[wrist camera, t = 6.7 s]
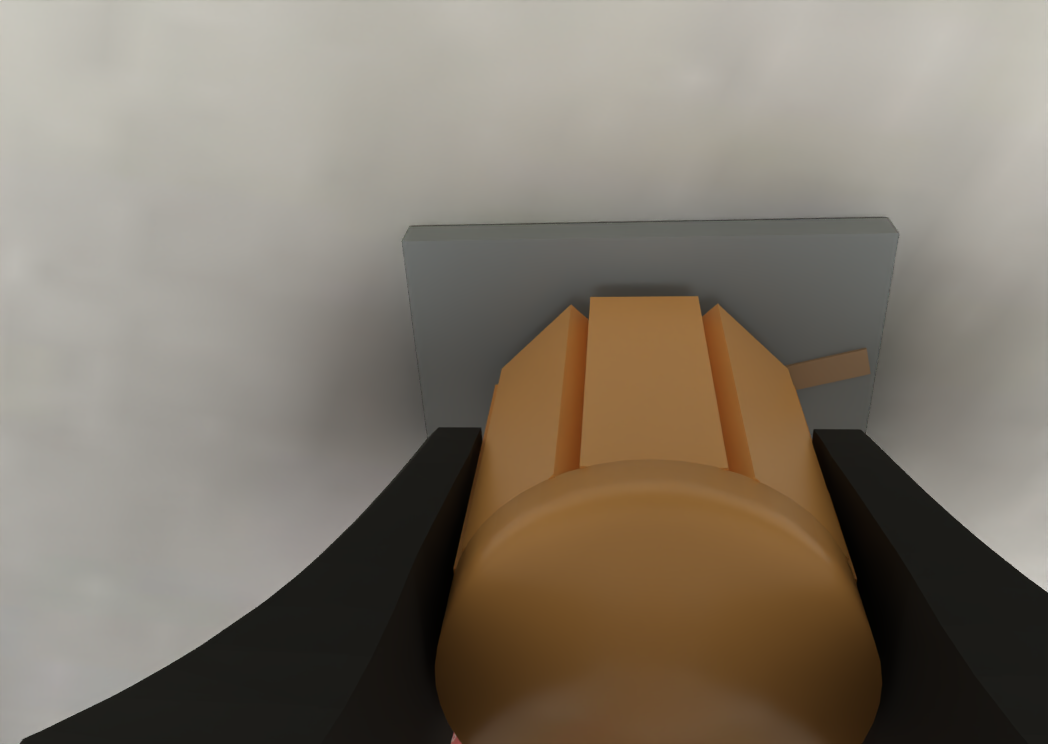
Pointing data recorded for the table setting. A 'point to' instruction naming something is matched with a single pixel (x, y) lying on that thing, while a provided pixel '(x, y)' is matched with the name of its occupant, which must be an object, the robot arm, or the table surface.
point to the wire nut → (652, 548)
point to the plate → (649, 271)
